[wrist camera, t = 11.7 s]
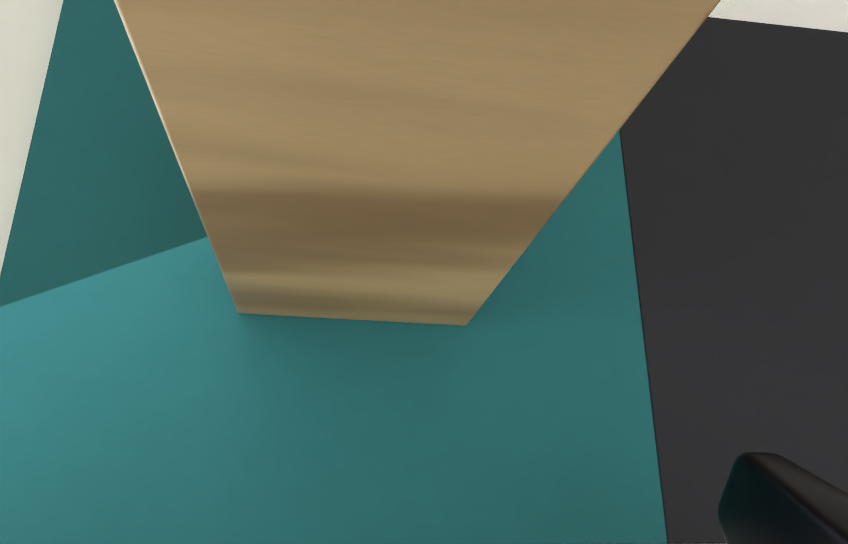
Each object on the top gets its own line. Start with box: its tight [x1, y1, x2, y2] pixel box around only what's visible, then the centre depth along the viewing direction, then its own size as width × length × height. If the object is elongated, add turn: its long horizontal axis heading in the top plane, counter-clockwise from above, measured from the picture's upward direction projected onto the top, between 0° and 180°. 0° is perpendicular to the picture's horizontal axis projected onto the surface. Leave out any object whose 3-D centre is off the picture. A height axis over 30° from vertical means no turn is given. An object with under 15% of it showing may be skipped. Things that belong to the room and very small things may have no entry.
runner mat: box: [0, 0, 848, 544], centre depth 17 cm, size 14×30×1 cm, turn 90°
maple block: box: [114, 0, 720, 326], centre depth 9 cm, size 5×5×13 cm
